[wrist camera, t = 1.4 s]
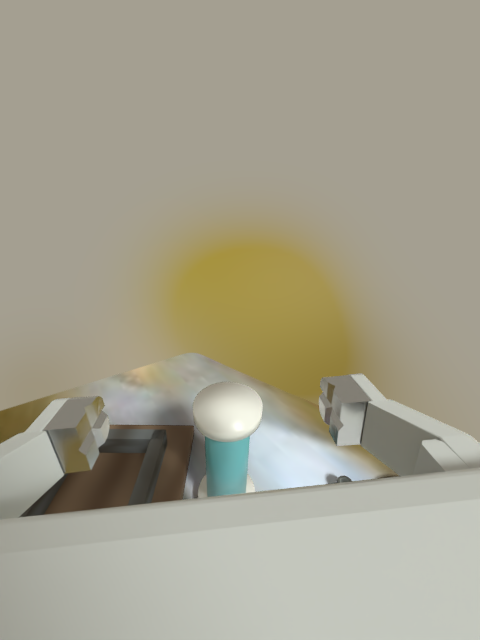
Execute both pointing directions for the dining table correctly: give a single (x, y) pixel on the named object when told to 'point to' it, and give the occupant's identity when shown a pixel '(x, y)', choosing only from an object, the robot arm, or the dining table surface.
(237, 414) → the bobbin
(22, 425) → the dining table surface
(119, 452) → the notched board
